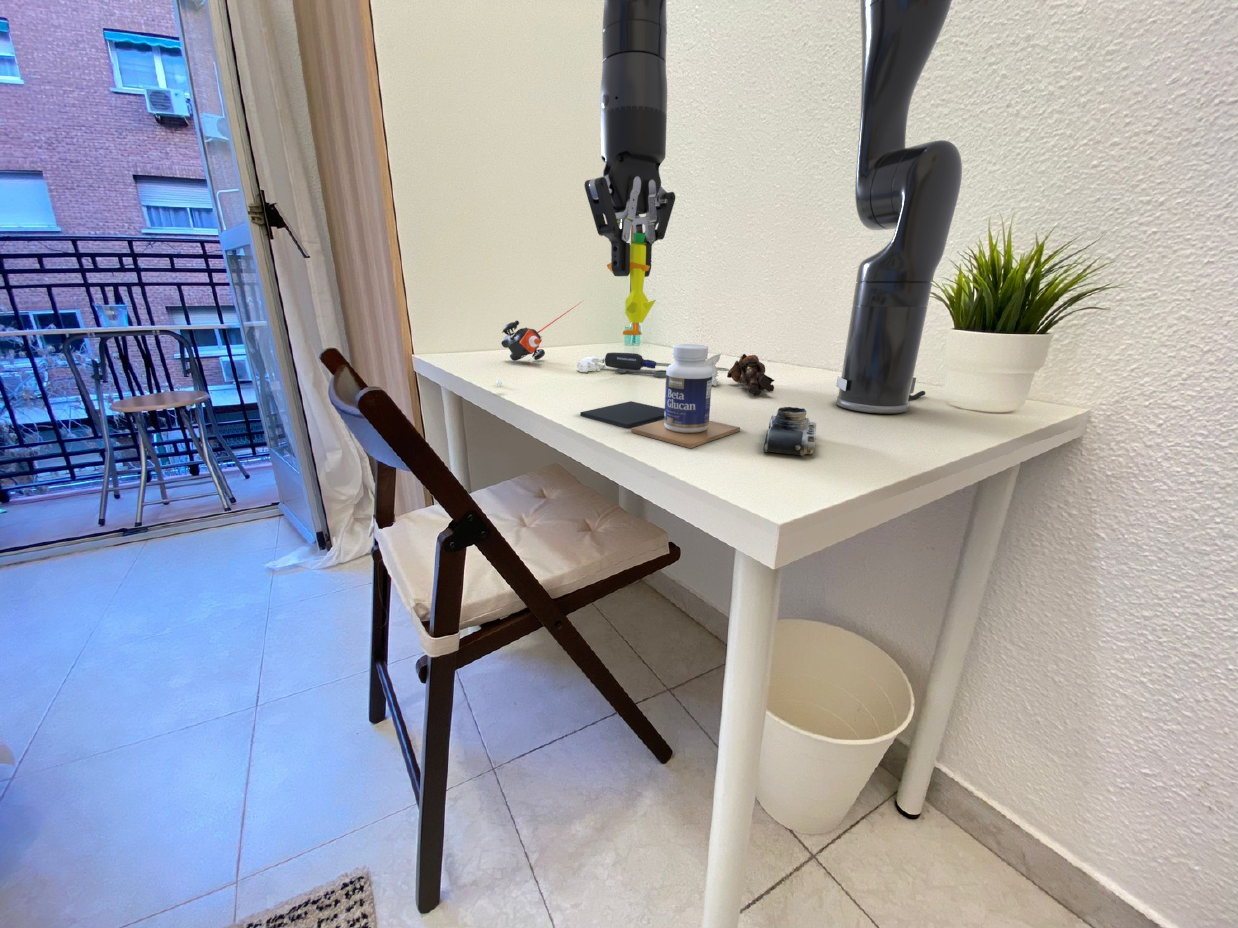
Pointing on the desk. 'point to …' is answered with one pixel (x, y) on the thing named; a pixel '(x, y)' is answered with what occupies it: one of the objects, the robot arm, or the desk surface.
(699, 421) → the pill bottle
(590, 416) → the rubber mat
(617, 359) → the screwdriver
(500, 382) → the sphere
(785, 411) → the camera
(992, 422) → the desk surface
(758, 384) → the figurine
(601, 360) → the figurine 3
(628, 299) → the toy figure
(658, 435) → the copper plate
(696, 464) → the desk surface
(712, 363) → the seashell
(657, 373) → the key
